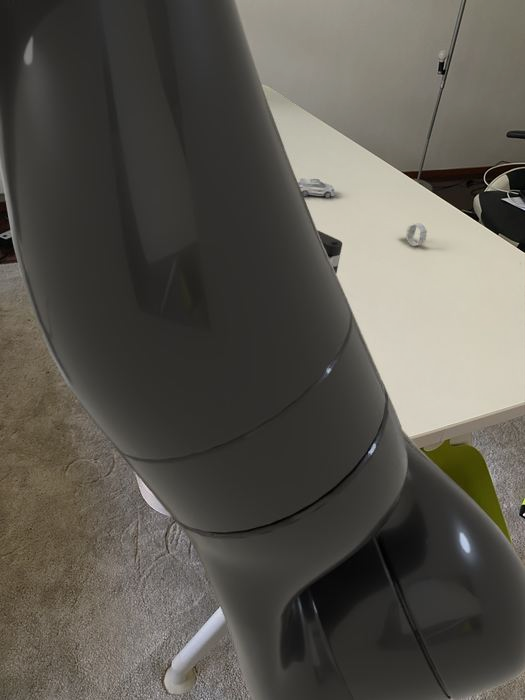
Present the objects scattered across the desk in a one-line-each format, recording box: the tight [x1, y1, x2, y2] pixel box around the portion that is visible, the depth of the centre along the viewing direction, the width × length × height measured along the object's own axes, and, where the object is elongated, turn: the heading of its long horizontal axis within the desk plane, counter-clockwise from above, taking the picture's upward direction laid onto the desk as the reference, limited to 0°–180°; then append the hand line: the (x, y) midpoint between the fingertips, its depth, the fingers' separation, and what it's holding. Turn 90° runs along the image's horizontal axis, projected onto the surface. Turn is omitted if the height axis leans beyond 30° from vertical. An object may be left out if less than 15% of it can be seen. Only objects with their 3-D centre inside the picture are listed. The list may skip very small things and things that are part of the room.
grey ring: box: [405, 222, 428, 247], centre depth 100 cm, size 4×2×4 cm, turn 31°
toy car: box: [298, 177, 336, 199], centre depth 114 cm, size 4×8×3 cm, turn 93°
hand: (237, 205), depth 45 cm, fingers closed
